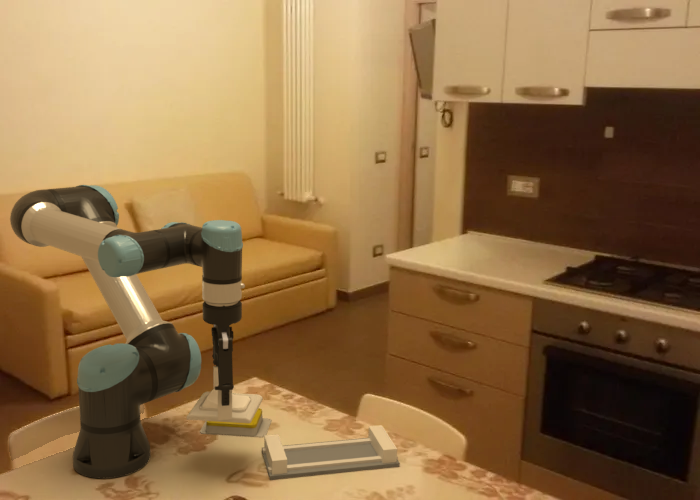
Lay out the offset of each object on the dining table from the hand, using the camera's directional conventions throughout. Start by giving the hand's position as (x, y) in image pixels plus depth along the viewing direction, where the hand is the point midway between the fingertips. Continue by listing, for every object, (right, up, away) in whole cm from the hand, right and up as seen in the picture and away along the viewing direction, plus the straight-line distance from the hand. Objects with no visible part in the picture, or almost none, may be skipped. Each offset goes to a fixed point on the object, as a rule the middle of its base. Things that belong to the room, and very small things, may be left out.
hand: (222, 407), depth 149 cm
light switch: (0, -1, +1) cm, 2 cm away
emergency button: (0, -9, +21) cm, 23 cm away
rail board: (+21, -12, +7) cm, 26 cm away
